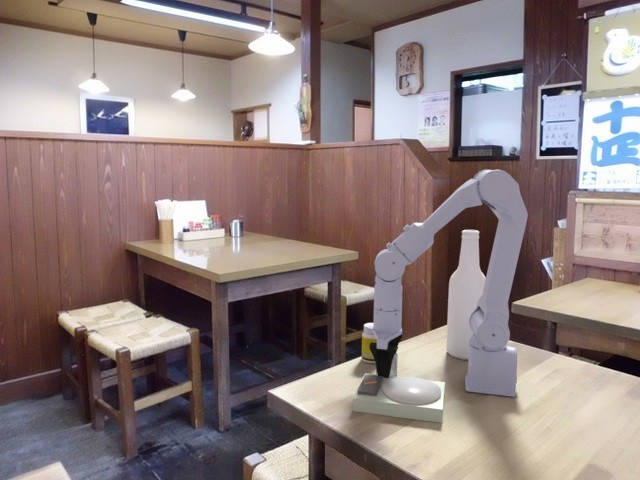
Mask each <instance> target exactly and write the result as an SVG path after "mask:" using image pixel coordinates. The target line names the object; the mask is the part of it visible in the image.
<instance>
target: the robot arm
mask: <svg viewBox="0 0 640 480" xmlns="http://www.w3.org/2000/svg"><path fill="white" fill-rule="evenodd" d="M520 191H521V190H520V184H519V183H518V182H517V180H515V179H514V178H513V176H511V174H509V172H506V171H505V170H502V169H483V170H480V171H478V172H477V173H476V174H475V175H474V176H473V178H470V179H469V180H468V179H467V181H465V182H464V183H463V184H462V185H460V186H459V187H458V188H456V190H455V191H454V192H453V193H452V194H451V195H449V197H447V199H446V200H444V202H443V203H441V205H440V206H439V207H438V208H436V209H435V211H433V212H432V213H431V214H430V215H429V216H428V218H426V219H425V220H424V221H423V222H413V223H412V224H410V225H409V224H406V225H405V226H403V228H402V230H403V231H402V232H401V233H400V235H399V236H397V237H396V238H395V239H393V241H392V242H388V243H387V244H385V249H383V250H381V251H379V253H377V255H376V256H375V260H374V270H375V273H376V274H375V277H374V283H375V284H374V287H373V288H374V289H373V290H374V291H373V323H374V324H373V326H368V331H370V332H373V334H374V335H375V337H376V339H377V343H373V342H371V343H370V345H369V348H370V351H371V352H372V354H373V357H374V360H375V363H374V364H375V370H376V369H377V374H378V376H383V378H389V375H390V371H391V366H392V361H393V357H394V355H395V353H397V351H398V350H399V346H398V345H399V344H400V342H401V339H402V338H403V335H404V332H403V328H402V318H403V317H402V313H403V312H402V311H403V289H404V288H403V285H402V277H403V275H404V273H405V269H406V266H410V265H412V264H413V262H415V261H416V260H417V259H418V258H419V257H420V256H421V255H423V254H424V253H425V252H426V251H427V250H428V249H429V248H430V247H432V245H434V241H435V240H434V236H435V234H436V233H437V232H439V231H440V230H441V229H442V228H443V227H445V226H446V225H447V224H449V222H451V221H452V220H453V219H455V217H457V216H458V215H459V214H460V213H461V212H462V211H464V210H465V209H467V208H474V207H477V206H478V207H479V206H482V205H483V204H486V205H487V206H488V207H489V209H490V210H491V211H492V213H493V214H494V215H495V216H496V217H497V219H498V222H497V226H496V230H495V231H496V232H495V236H494V240H493V245H492V250H491V254H490V258H489V261H488V262H489V263H488V267H487V272H486V276H485V277H486V280H485V285H484V289H483V294H482V296H481V297H480V299H479V300H478V303H477V307H476V309H475V310H474V311H473V312H472V314H471V315H470V318H469V325H470V328H471V330H472V331H473V332H474V334H473V336H472V337H471V339H470V340H469V359H468V360H467V361H468V363H467V374H464V375H465V378H464V379H465V380H464V382H465V384H464V385H465V388H464V389H465V391H466V392H470V393H475V394H476V393H477V394H486V395H493V396H504V397H511V398H515V397H516V395H517V393H516V390H517V389H516V388H517V382H518V374H517V373H518V350H517V347H515V346H510V345H507V344H508V342H509V341H510V337H511V331H510V329H509V318H510V309H509V300H510V295H511V291H512V286H513V284H514V283H513V282H514V277H515V275H516V274H515V273H516V269H517V266H518V265H517V264H518V260H519V255H520V252H521V247H522V243H523V239H524V235H525V230H526V227H527V221H528V216H529V215H528V214H529V213H528V210H527V208H526V205H525V203H524V199H523V197H522V195H521V192H520Z"/></svg>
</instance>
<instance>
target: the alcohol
mask: <svg viewBox="0 0 640 480" xmlns="http://www.w3.org/2000/svg"><path fill="white" fill-rule="evenodd" d="M479 234H480V231H479V230H476V229H464V230H462V231H461V236H460V238H461V245H460V253H459V259H458V265H457V269H455V271H454V272H453V273H452V274H451V276H450V278H449V282H448V299H447V300H448V302H447V321H446V322H447V325H446V345H445V346H446V352H447V353H448V355H449V356H451V357H452V358H455V359H459V360H462V361H464V360H465V361H468V359H469V340H470V339H471V337H472V336H473V334H474V332H473V331H472V330H471V328H470V325H469V318H470V315H471V314H472V312H473V311H474V310H475V309H476V307H477V303H478V300H479V299H480V297H481V296H482V294H483V289H484V285H485V280H486V276H485V274H484V273H483V272H482V270H481V266H480V247H479V246H480V243H479V239H480V235H479Z"/></svg>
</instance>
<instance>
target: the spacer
mask: <svg viewBox="0 0 640 480" xmlns="http://www.w3.org/2000/svg"><path fill="white" fill-rule="evenodd" d="M398 361H399V360H398V353H397V352H396V353H395V355H394V357H393V361H392V366H391V371H390V375H389V376H394V377H398ZM375 374H377V369H376V368H375ZM377 375H378V374H377Z"/></svg>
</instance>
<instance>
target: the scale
mask: <svg viewBox="0 0 640 480" xmlns="http://www.w3.org/2000/svg"><path fill="white" fill-rule="evenodd" d="M445 388H446V382H445V381H436V380H429V379H425V378H420V377H414V376H397V377H394V376H389V378H383V376H378V375H377V374H376V373H375V374H374V373H364V375H363V377H362V379H361V381H360V383H359V385H358V387H357V389H356V391H355V393H354V396H353V399H352V412H357V413H363V414H371V415H373V414H374V415H378V416H388V417H393V418H401V419H409V420H417V421H423V422H424V421H425V422H434V423H440V424H442V423H443V416H444V406H445V405H444V403H445V393H446V391H445V390H446V389H445Z"/></svg>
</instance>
